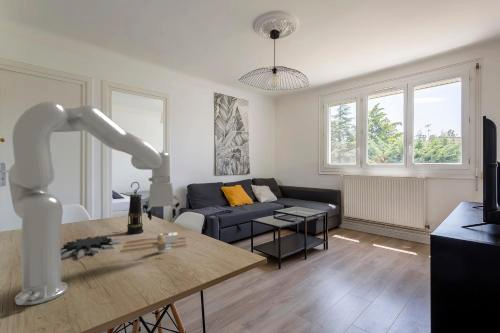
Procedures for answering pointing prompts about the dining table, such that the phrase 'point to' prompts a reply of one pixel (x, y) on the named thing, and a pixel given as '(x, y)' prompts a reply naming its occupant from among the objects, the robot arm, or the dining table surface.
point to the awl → (161, 243)
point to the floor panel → (150, 245)
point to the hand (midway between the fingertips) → (162, 218)
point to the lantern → (135, 214)
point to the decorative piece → (86, 246)
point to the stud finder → (170, 237)
